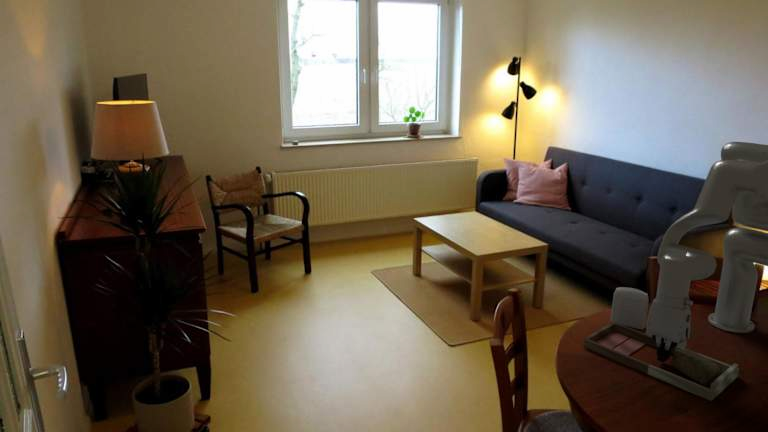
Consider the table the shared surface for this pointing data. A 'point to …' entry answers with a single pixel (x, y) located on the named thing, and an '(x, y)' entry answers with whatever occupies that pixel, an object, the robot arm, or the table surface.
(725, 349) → the table surface
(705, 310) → the table surface
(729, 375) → the frame
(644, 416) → the table surface
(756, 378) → the table surface
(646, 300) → the photo printer
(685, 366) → the stone block
